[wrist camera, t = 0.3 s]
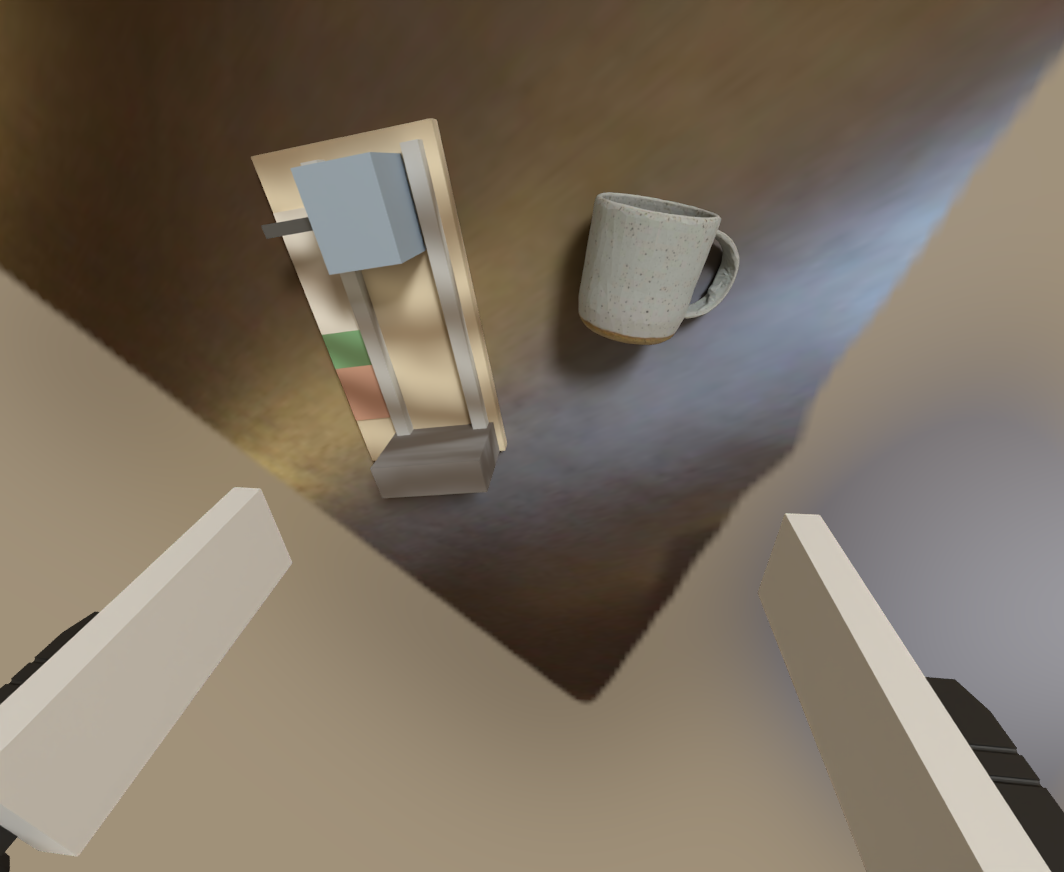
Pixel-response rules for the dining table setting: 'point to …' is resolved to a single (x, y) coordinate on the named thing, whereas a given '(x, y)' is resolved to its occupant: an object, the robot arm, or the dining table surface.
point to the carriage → (357, 212)
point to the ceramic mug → (649, 267)
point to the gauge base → (402, 325)
